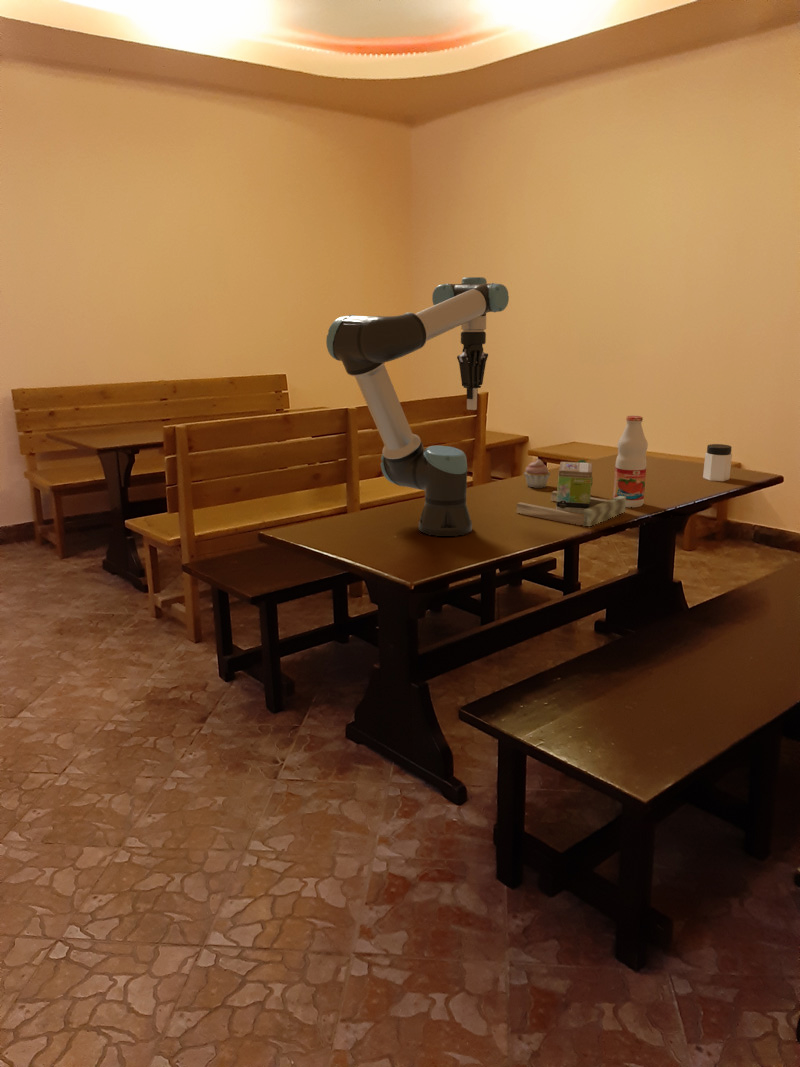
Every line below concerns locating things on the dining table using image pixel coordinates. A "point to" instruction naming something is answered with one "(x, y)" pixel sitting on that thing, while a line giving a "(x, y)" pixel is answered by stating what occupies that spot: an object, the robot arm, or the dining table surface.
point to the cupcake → (537, 474)
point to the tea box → (574, 486)
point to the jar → (717, 462)
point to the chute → (592, 515)
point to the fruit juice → (631, 463)
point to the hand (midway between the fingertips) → (471, 409)
